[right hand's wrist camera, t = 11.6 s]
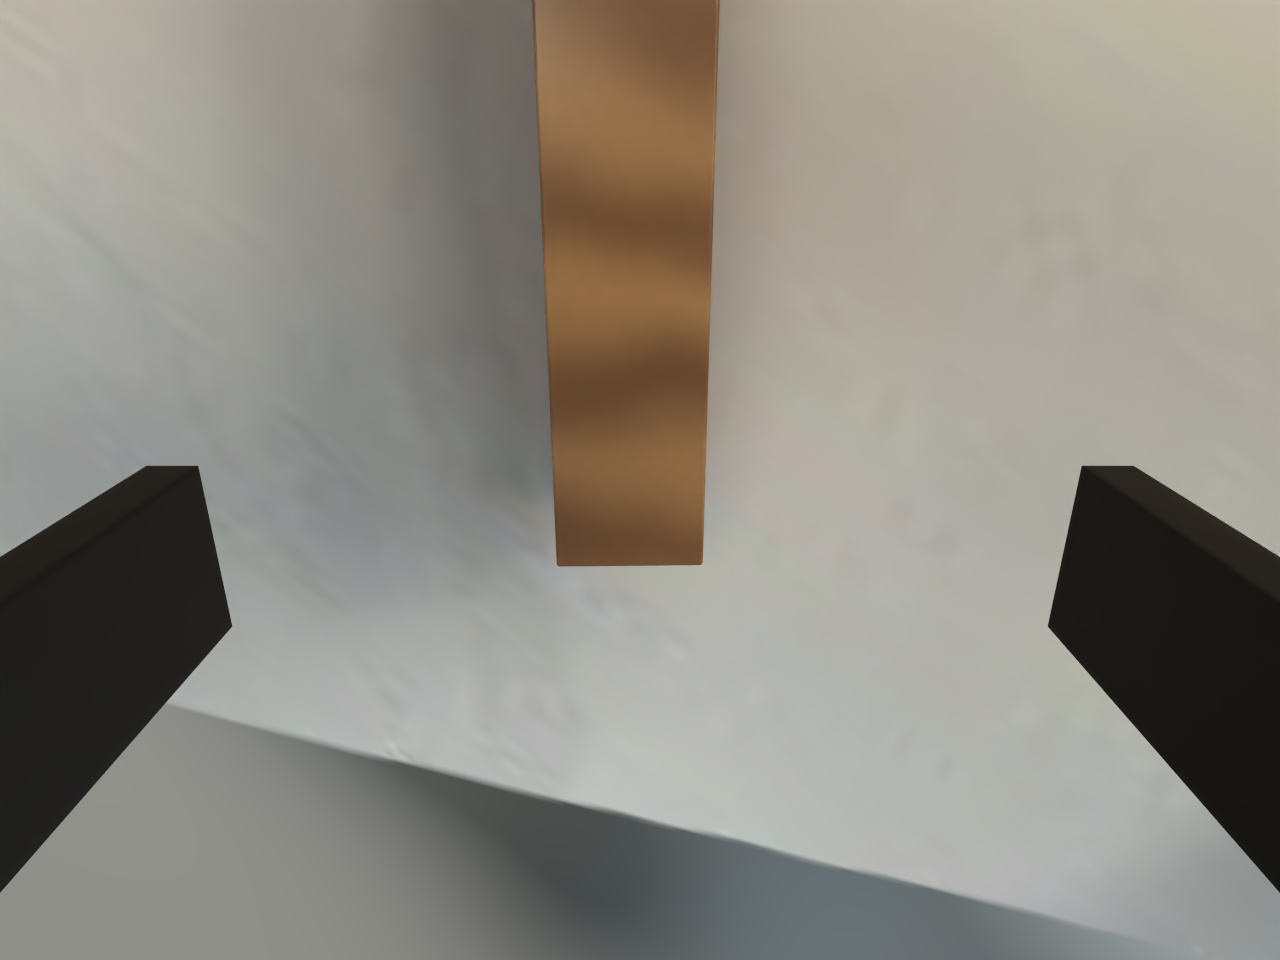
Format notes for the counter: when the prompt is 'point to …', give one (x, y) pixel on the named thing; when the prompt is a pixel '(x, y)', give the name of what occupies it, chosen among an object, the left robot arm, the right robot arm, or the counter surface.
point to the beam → (627, 270)
